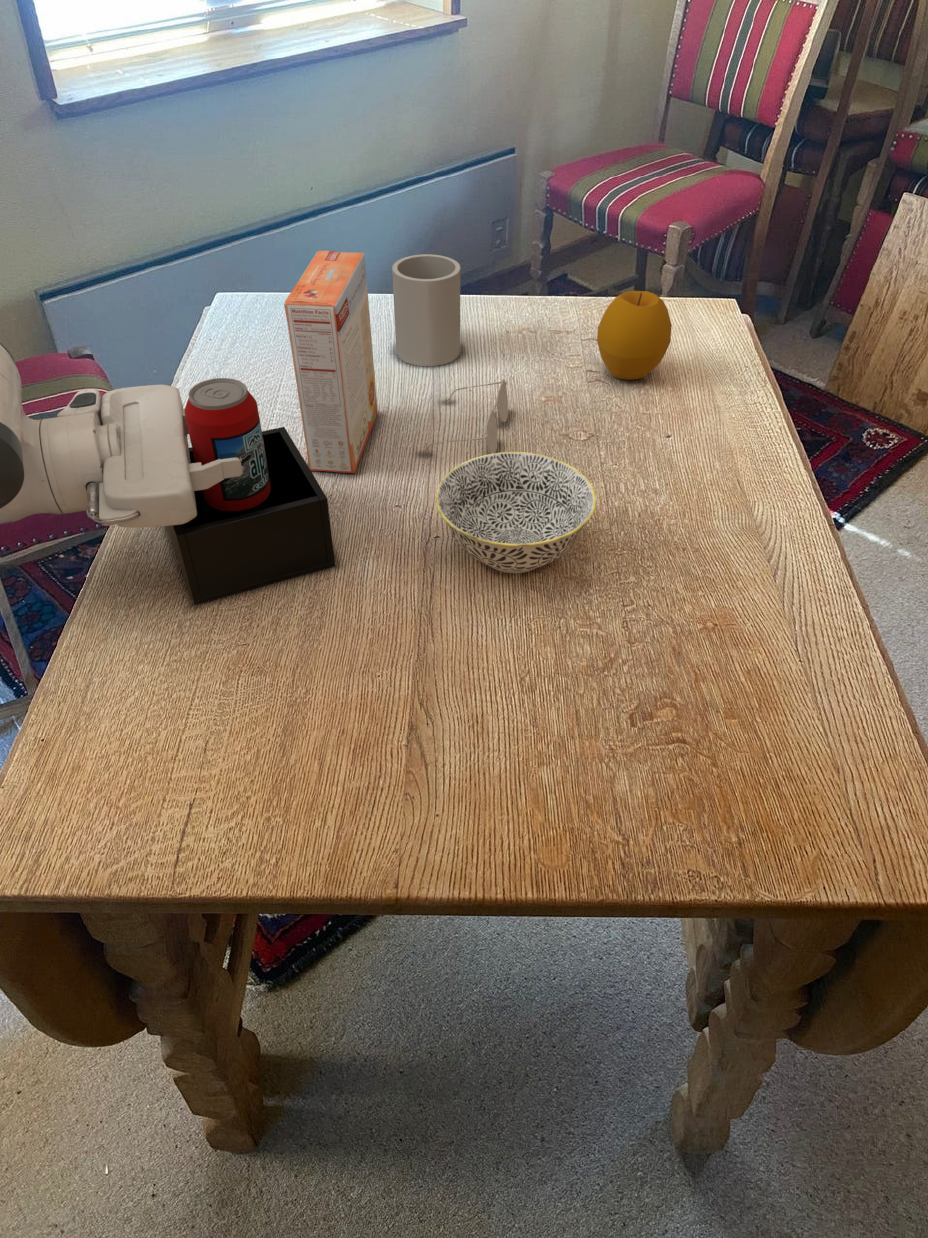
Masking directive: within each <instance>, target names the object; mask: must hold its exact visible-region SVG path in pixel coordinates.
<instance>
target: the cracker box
mask: <svg viewBox="0 0 928 1238" xmlns="http://www.w3.org/2000/svg"><path fill="white" fill-rule="evenodd" d="M367 278H368V277H367V267H366V255H365V252H349V251H348V252H346V251H345V252H344V251H335V250H317V251H316V253H315V255H314V256H313V258H312V259H311V261H310V262H309V264H308V265H307V267H306V269H305V270H304V272H303V273H302V275H301V276H300V278H299V280H298V281H297V282H296V284H295V286H294V287H293V289H292V290H291V292H290V293H289V294H288V296H287V297H286V299H285V301H284V302H283V305H284V311H285V318H286V324H287V331H288V337H289V344H290V350H291V356H292V357H291V358H292V364H293V369H294V377H295V383H296V391H297V397H298V403H299V411H300V417H301V423H302V430H303V431H302V432H303V438H304V443H305V448H306V449H305V450H306V456H307V457H306V458H307V465H308V467H309V469H310V470H311V471H312V472H313V471H314V472H315V471H316V472H328V473H329V472H330V473H341V474H355V473H356V470H357V469H358V466H359V462H360V461H361V458H362V455H363V453H364V450H365V447H366V445H367V442H368V440H369V438H370V434H371V432H372V429H373V427H374V424H375V422H376V419H377V417H378V413H379V411H378V400H377V398H378V397H377V387H376V377H375V375H376V374H375V373H376V372H375V363H374V352H373V340H372V339H373V338H372V326H371V314H370V304H369V303H370V302H369V301H370V300H369V290H368V279H367Z"/></svg>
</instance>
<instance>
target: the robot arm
mask: <svg viewBox="0 0 928 1238" xmlns="http://www.w3.org/2000/svg"><path fill="white" fill-rule="evenodd" d="M15 361H16V360H15V359H14V357H13V356H12V354H11V353H10V351H9V350H8V349H7V348H6V347H5V346H4V345H3V344H2V343H1V342H0V525H1V524H8V523H14V522H18V521H21V520H23V519H25V518H27V517H30V516H33V515H39V514H52V515H65V514H66V515H67V514H75V513H80V512H86V516H87V517H88V519H90V520H93V521H94V522H96V523H98V524H100V525H102V526H105V527H107V526H108V527H109V526H118V527H121V528H124V529H125V528H126V529H142V528H143V529H145V528H146V529H147V528H160V527H166V526H171V525H180V524H184V523H187V522H189V521H190V520H192V519H194V518H195V517H196V516H197V509H196V501H195V493H194V491H198V490H204V489H208V488H210V487H212V486H213V485H215V484H217V483H219V482H220V481H222V480H224V479H225V478H231V477H238V476H241V475H242V473H243V471H242V466H241V460H240V456H239V454H238V453H235V452H234V453H230V454H220V459H218V460H215V461H213V462H210V463H208V464H205V465H202V464H201V462H199V463H192V464H191V461H190V453H189V448H190V447H189V438H188V435H189V431H188V427H187V422H186V417H185V408H184V405H183V400H182V397H181V396H182V395H181V392H180V389H179V387H176V386H172V385H168V384H149V385H138V386H129V387H128V386H127V387H121V388H116V389H112V390H109V391H107V392H106V393H104V394H103V395H102V396H101V393H100V390H98V389H97V388H87V389H81V390H79V391H78V392H76V393H75V394H74V396H73V397H72V398H71V400H70V401H69V403H67V405H66V406H65V407H64V408H63V409H62V410H61V411H59V412H58V413H57V415H56V417H48V418H41V419H33V418H31V417H29V416H27V414H26V412H25V410H24V407H23V384H22V378H21V375H20V373H19V369H18V367H17V364H16V362H15Z"/></svg>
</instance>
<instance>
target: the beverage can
mask: <svg viewBox="0 0 928 1238" xmlns="http://www.w3.org/2000/svg"><path fill="white" fill-rule="evenodd" d="M184 409H185V417H186V422H187V427H188V431H189V434H188V436H189V441H190V445H191V447H192V450H193V454H194V458H195V463H199V462H201V464H202V465H205V464H208V463H210V462H213V461H215V460H218V459H220V454H230V453H234V452H235V453H238V454H239V456H240V460H241V466H242V471H243V473H242V475H241V476H238V477H231V478H225V479H224V480H222V481H220V482H219V483H217V484H215V485H213V486H212V487H210V488H208V489H204V490H202V493H203V497H204V500H205V501H206V503H207V504H208V505H209V506H211V507H213V508H215V509H217V510H221V511H226V512H243V511H247V510H250V509H252V508H254V507H256V506H258V505H259V504H261V503H262V502H264V501H265V500H266V499H267V497H268V496H269V494H270V491H271V487H270V480H269V473H268V467H267V460H266V454H265V447H264V441H263V435H262V431H263V430H262V423H261V419H260V412H259V406H258V402H257V399H256V398H255V397H254V396H253V395H252V393H251V392H250V391H249V390H248V387H247V385H246V384H245V383H243V382H242V381H241V380H239V379H235V378H230V377H217V378H216V377H215V378H210V379H206V380H202V381H201V382H200V381H199V382H198V383H196V384H195V385H193V386H192V387H191V388H190V389H189V391H188V399H187V401H186V403H185V407H184Z"/></svg>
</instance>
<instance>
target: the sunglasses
mask: <svg viewBox="0 0 928 1238" xmlns="http://www.w3.org/2000/svg"><path fill="white" fill-rule="evenodd" d="M499 384H500V385H499ZM493 385H499V387H498V391H497V396H496V404H494V405H493V409H491V410H490V412H489V415H488V417H487V420H486V423H485V436H483V437H474V438H465V439H455V440H448V441H436V442H432V443H430V444H429V445H428V446H427V447H426V450H425V451H424V452H423V454H422V455H424V456H425V455H426V454H427V453H428V451H429V449H430V448H431V446H433V445H438V444H439V445H440V444H445V443H455V442H467V441H468V442H470V441H480V440H482V441H483V440H486V444H487V445H486V446H487V448H488V452H489V454H493V453H497V449H498V426H497V420H496V419H498V417H499V419H500V421H501V422H502V423H506V422H507V420H508V417H509V399H508V391H507V385H508V381H507V380H505V379H502V380H501V381H498V382H491V383H484V384H479V385H472V386H464V387H459V388H456V389H455V390H453V391H452V393H451V394H450V395H449V397H448V399H447V401H446V404H449V402H450V401H451V399H452V397H453V395H454V394H455V393H456V392H458V391H460V390H465V389H471V388H477V387H483V386H484V387H485V386H493ZM495 408H496V410H497V411H496V410H495ZM497 416H498V417H497Z"/></svg>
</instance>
